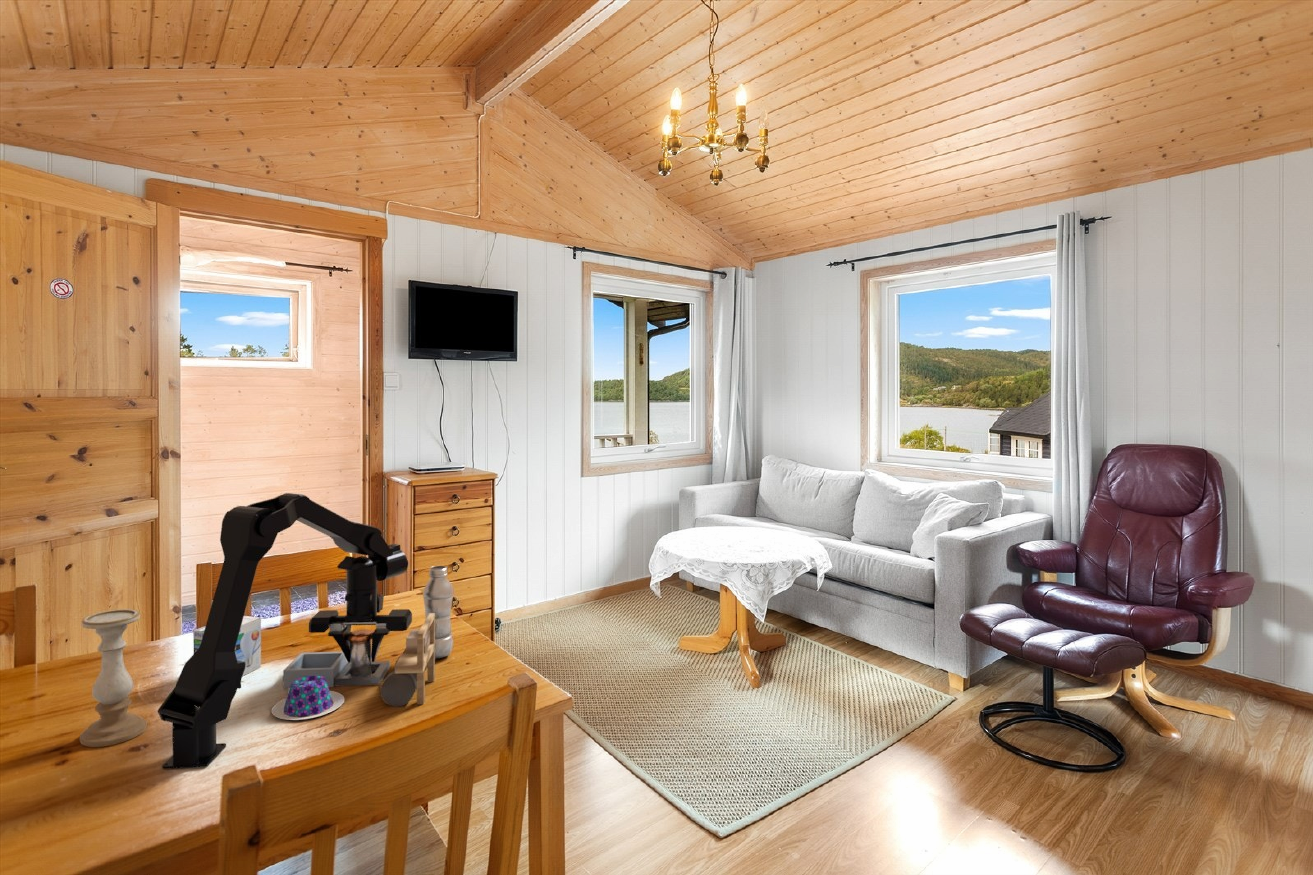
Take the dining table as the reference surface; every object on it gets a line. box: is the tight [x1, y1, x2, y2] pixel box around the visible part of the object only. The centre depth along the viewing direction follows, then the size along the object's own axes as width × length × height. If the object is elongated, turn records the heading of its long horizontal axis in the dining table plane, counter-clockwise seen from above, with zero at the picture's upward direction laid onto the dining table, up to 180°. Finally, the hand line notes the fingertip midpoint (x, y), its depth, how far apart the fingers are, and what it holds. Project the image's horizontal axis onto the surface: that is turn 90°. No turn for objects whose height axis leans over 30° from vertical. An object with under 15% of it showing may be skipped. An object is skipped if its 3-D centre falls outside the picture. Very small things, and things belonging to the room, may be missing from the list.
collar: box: [333, 660, 391, 687], centre depth 140 cm, size 8×8×2 cm
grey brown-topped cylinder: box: [348, 628, 374, 675], centre depth 139 cm, size 5×5×9 cm
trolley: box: [379, 613, 436, 707], centre depth 133 cm, size 12×8×14 cm, turn 8°
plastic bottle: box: [422, 565, 454, 660], centre depth 151 cm, size 6×7×20 cm
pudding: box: [271, 675, 345, 721], centre depth 126 cm, size 12×12×5 cm
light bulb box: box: [192, 615, 262, 677], centre depth 139 cm, size 11×7×11 cm, turn 168°
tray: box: [282, 651, 348, 690], centre depth 138 cm, size 9×9×4 cm
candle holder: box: [79, 608, 148, 748], centre depth 114 cm, size 9×9×20 cm
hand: (361, 661), depth 140 cm, fingers open, 4 cm apart
